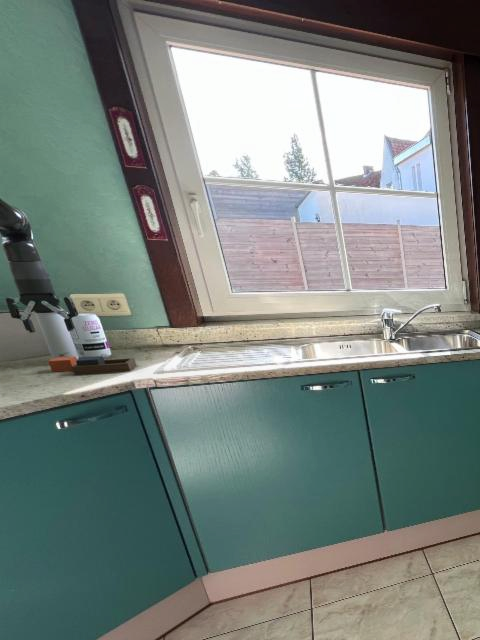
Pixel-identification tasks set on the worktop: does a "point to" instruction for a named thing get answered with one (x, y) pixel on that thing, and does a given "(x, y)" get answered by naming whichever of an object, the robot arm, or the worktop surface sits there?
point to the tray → (106, 367)
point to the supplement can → (89, 336)
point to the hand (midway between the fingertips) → (52, 331)
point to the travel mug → (56, 334)
